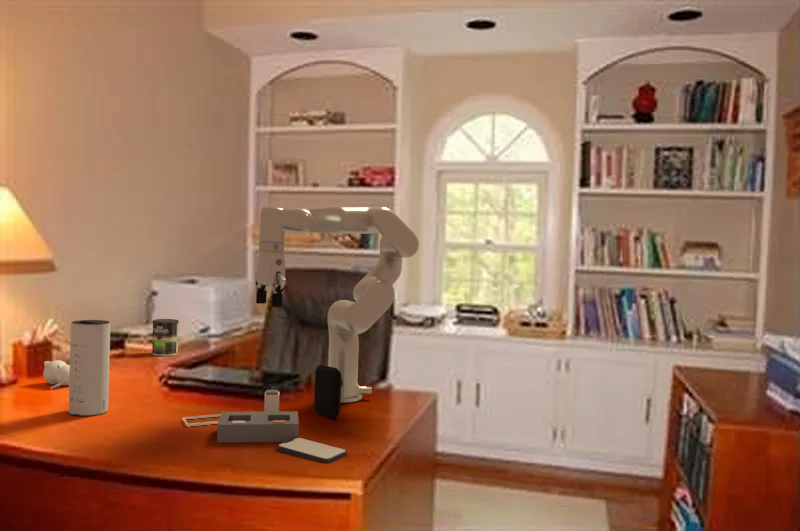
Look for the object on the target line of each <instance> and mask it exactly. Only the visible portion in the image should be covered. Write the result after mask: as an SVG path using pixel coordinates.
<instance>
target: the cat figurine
mask: <svg viewBox="0 0 800 531" xmlns="http://www.w3.org/2000/svg"><path fill="white" fill-rule="evenodd" d="M43 365H44V369H43V378H44V380H45V381H46V382H47V383H49V384H52V385H53V386H50V387H49V390H53V389H56V388H58V387H60V386H61V385H62V386H69V374H70V364H68V363H66V361H63V360H60V359H59V360H57V359H55V360H52V361H50V360H46V361H43Z"/></svg>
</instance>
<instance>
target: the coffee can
mask: <svg viewBox="0 0 800 531" xmlns="http://www.w3.org/2000/svg"><path fill="white" fill-rule="evenodd" d="M179 320H180V319H179ZM179 320H178V319H173V318H157V319H153V320H152V340H151V341H152V342H151V343H152V345H151V346H152V347H151V348H152V350H151V355H152V356H156V357H170V356H171V357H172V356H173V357H174V356H176V355H177V356H178V348H179V346H178V344H179V323H180V322H179Z"/></svg>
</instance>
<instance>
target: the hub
mask: <svg viewBox="0 0 800 531" xmlns="http://www.w3.org/2000/svg"><path fill="white" fill-rule="evenodd" d="M220 414H221V416H220V417H219V419H218V421H219V422H218V425H216V426H217V430H216V431H217V433H216V434H217V435H216V438H217V439H216V444H217V443H218V444H220V443H224V444H225V443H226V444H227V443H229V444H230V443H274V442H275V443H284V442H286V441H289V440H292V439H295V438H299V433H300V432H299V428H300V426H299V424H300V423H299V411H297V410H296V411H279V412H264V411H221V413H220Z"/></svg>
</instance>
